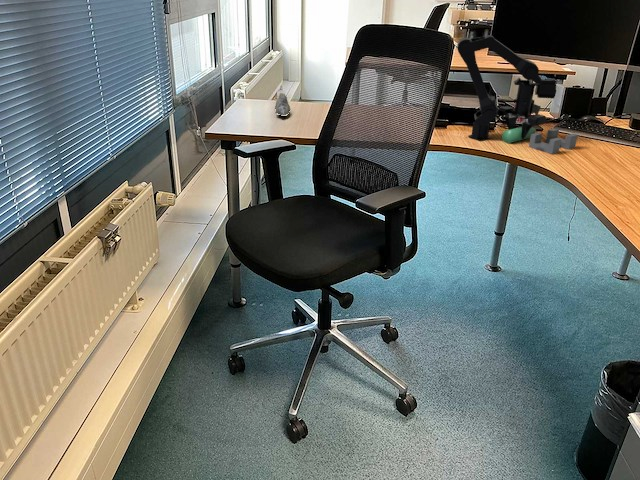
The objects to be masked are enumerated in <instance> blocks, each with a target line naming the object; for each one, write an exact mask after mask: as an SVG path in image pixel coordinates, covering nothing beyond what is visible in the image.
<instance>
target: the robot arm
mask: <svg viewBox="0 0 640 480" xmlns="http://www.w3.org/2000/svg"><path fill="white" fill-rule="evenodd" d="M456 45H457V47H456V48H457V51H458V54H459V56H460V57H461V59H462V61H463V62H464V64H465V65H466V68H467V69H468V73H469V75H470V78H471V81H472V84H473V86H474V89H475V92H476V95H477V97H478V104H479V110H477V112H475V113H474V114H473V115H474V120H475V121H474V122H472V128H471V134H470V135H468V136H467V137H468V138H471V139H473V140H477V141H479V142H481V141H486V140H489V139H492V137H491V136H489V135H490V128H491V126H490V125H491V122H492V121H493V120H495V119H496V118H497V116H499V117H500V116H501V117H502V118H503V120H504V121H505V124H506V126H507V130H510V129H514V128H516V125H515V123H516V120H517V119H518V117H519V118H523V119H527V120H526V122H524V123H522V126H521V127H522V135H521V136H522V139H524V138H525V136H526V135H527V133H528V131H529V130H530V128H533V126H539V125H540V126H541V125H545V124H546V123H547V117H546V115H543V114H539V112H540V111H541V105H537V104H536V103H535V99H533V97H534V95H536V96H537V99H555V97H556V93H557V80H556V79H555V78H554V79H553V78H552V79H542V77H541V76H540V75H539V71H540V69H539V67H538V66H537V64H536V63H535V62H533V61H531V60H529V59H527V58H525V57H522V56H520V55H518V54H517V53H515V52H514V51H513V50H511V49H510V48H509V47H507V46H506V45H504V44H503V43H501V42H500V41H498V40H497V39H496V38H495V37H494V36H493V35H492V34H491V35H489V34H488V35H486V36H480V37H479V36H478V37H473V38H470V37H466V36H465V37H462V38H461V39H459V40H458V42H457V44H456ZM484 49H489V50H490V51H492V52H494V53H495V54H496V55H497V56H499V57H501V59H503V60H504V61H505V62H507V63H508V64H510V65H512V66H513V68H514V69H516V71H517V72H518V73H519V74H520V75H521V76H522V78H524V79H522V78H520V77H518V78H517V79H516V80H514V81H513V84H514V86H517V94H516V98H515V99H514V98H513V103H514V107H515V109H514V107H512V106H506V105H505V106H501V107H498V105H497V103H496V99H495V96H493V95H492V96H491V97H490V96H489V93H488V90H487V89H486V86H485V83H484V80H483V77H482V74H481V72H480V68H479V66H478V63H477V59H476V52H478V51H481V50H484ZM530 81H532V82H530ZM532 99H533V100H532ZM517 114H518V115H517ZM529 114H531V115H529ZM524 140H525V139H524Z"/></svg>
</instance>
